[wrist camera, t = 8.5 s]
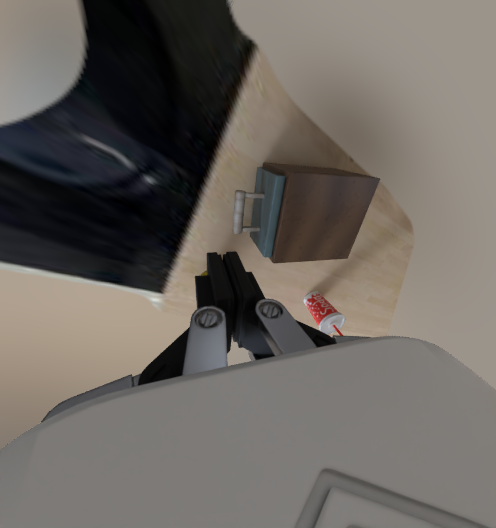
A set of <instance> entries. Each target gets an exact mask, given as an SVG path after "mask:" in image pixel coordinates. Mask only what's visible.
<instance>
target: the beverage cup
mask: <svg viewBox="0 0 496 528" xmlns="http://www.w3.org/2000/svg"><path fill="white" fill-rule="evenodd" d="M304 303H305V305H306V306H307V308H308V309H309V311H310V313H311V314H312V316H313V317H314V319H315V321H316V322H317V324H318V325H319V329H320V330H321V332H323V333H325V334H330V333H334V332H335V331H337V332H338V333H339V335H340V336H343V335H342V334H341V332H340V331H339V330H338V329H340V328H341V327H342V326H343V324H344V323H345V317H344V316H343V315H342V314H341V313H339V312H338V311H337V310H336V309H335V308H334V307H333V306H332V305H331V304H330V303H329V302H328V301H327V300H326V299H325V298H324V297H323V296H322V295H321V294H320V293H319V292H317V291H313V292H310V293H309V294H307V295H306V296H305V298H304Z"/></svg>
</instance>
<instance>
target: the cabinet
mask: <svg viewBox="0 0 496 528" xmlns="http://www.w3.org/2000/svg"><path fill="white" fill-rule="evenodd" d="M263 168H267V169H269V170H272V171H274V172H277V173H279V174H282V175H284V176H286V184H285V189H284V195H283V200H282V205H281V211H280V216H279V222H278V227H277V233H276V238H275V244H274V245H273V251H272V256H271V257H269V258H270V260H271V261H272V262H273V263H286V262H302V261H317V260H332V259H347V258H348V256H349V254H350V251H351V249H352V246H353V244H354V241H355V239H356V236H357V234H358V232H359V229H360V227H361V224H362V222H363V219H364V217H365V215H366V212H367V210H368V207H369V205H370V202H371V200H372V197H373V195H374V193H375V190H376V188H377V185H378V183H379V180H380V178H375V177H371V176H367V175H362V174H358V173H353V172H349V171H344V170H339V169H333V168H321V167H309V166H297V165H285V164H274V163H263Z"/></svg>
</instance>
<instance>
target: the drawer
mask: <svg viewBox="0 0 496 528" xmlns="http://www.w3.org/2000/svg"><path fill="white" fill-rule="evenodd" d="M285 184H286V176H284V175H282V174H279V173H277V172H274V171H272V170H269V169H267V168H263V167H257V176H256V185H255V193H246V192H245V191H243V190H236V191H235V205H234V222H233V233H236V234H241V233H242V231H250V237H251V238H252V240H253V241H254V243H255V244H256V246H257V247H258V249H259V250H260V252H261V253H262V255H263V256H264V257H271V256H272V251H273V245H274V244H275V238H276V233H277V227H278V222H279V216H280V211H281V205H282V200H283V195H284V189H285ZM245 198H254V203H253V213H252V222H251V227H243V216H244V205H245Z"/></svg>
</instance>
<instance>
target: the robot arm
mask: <svg viewBox="0 0 496 528" xmlns="http://www.w3.org/2000/svg"><path fill="white" fill-rule="evenodd" d="M195 284H196V300H197V310H196V311H195V312H194V313H193V314H192V317H191V322H190V327H189V328H188V329H187V330H186V331H185V332H184V333H183V334H182V335H181V336H179V337H178V338H177V339H176V340H175V341H174V342H173V343H172V344H171V345H170V346H169V347H168V348H166V349H165V350H164V351H163V352H162V353H161V354H160V355H159V356H158V357H157V358H156V359H154V360H153V361H152V362H151V363H150V364H149V365H148V366H147V367H146V368H145V369H144V371H143V372H142V373H141V374H139V375H136V376H134V377H132V375H128V376H126V377H123V378H121V379H118V380H115V381H113V382H110V383H108V384H105V385H103V386H100V387H98V388H95V389H92V390H90V391H87V392H85V393H82V394H79V395H77V396H74V397H72V398H69V399H67V400H65V401H63V402H61V403H60V404H58V405H57V406H56V407H54V408H53V409H52V410H51V411H49V413H48V414H47V415H46V417H45V418H44V419H43V420H42V421H41V423H40V424H38V425H36V426H35V427H33V428H31V429H30V430H28V431H26V432H25V433H23V434H22V435H20V436H19V437H17V438H16V439H14V440H13V441H12V442H10V443H9V444H7V445H6V446H5V447H4V448H2V449H1V450H0V528H496V390H495V389H494V388H493V387H491V386H490V385H489V384H488V383H487V382H486V381H484V380H483V379H482V378H481V377H479V376H478V375H477V374H476V373H474V372H473V371H472V370H471V369H469V368H468V367H467V366H465V365H464V364H463V363H461V362H460V361H459V360H458V359H456V358H455V357H453V356H452V355H451V354H449V353H448V352H446V351H445V350H443V349H442V348H440V347H439V346H437V345H435V344H432V343H430V342H427V341H423V340H420V339H415V338H409V337H400V336H383V337H373V338H372V337H360V336H335V335H333V337H332V338H331V337H330V336H329V335H327V334H325V333H323V332H321V331H319V330H317V329H314V328H312V327H310V326H308V325H306V324H303V323H301V322H299V321H297V320H295V319H294V318H293V317H292V316H291V314H290V313H289V312H288V311H287V309H286V308H285V307H284V306H283V305H282V304H281V303H280V302H278V301H276V300H273V299H265V297H264V295H263V293H262V291H261V289H260V287H259V285H258V283H257V281H256V279H255V277H254V275H253V274H252V272H246V271H245V269H244V267H243V265H242V262H241V260H240V258H239V256H238V254H237V252H236V251H235V252H226V254H223V260H222V257H221V255H218V254H217V252H213V253H207V275H203V276H195ZM232 337H233V341H234V342H237V343H238V346H239V348H242V347H243V348H245V349H247V350H249V352H248V353H249V356H250V359H251V361H250V362H245V363H241V364H236V365H231V366H227V353H228V352H229V351H230V347H231V339H232Z"/></svg>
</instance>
